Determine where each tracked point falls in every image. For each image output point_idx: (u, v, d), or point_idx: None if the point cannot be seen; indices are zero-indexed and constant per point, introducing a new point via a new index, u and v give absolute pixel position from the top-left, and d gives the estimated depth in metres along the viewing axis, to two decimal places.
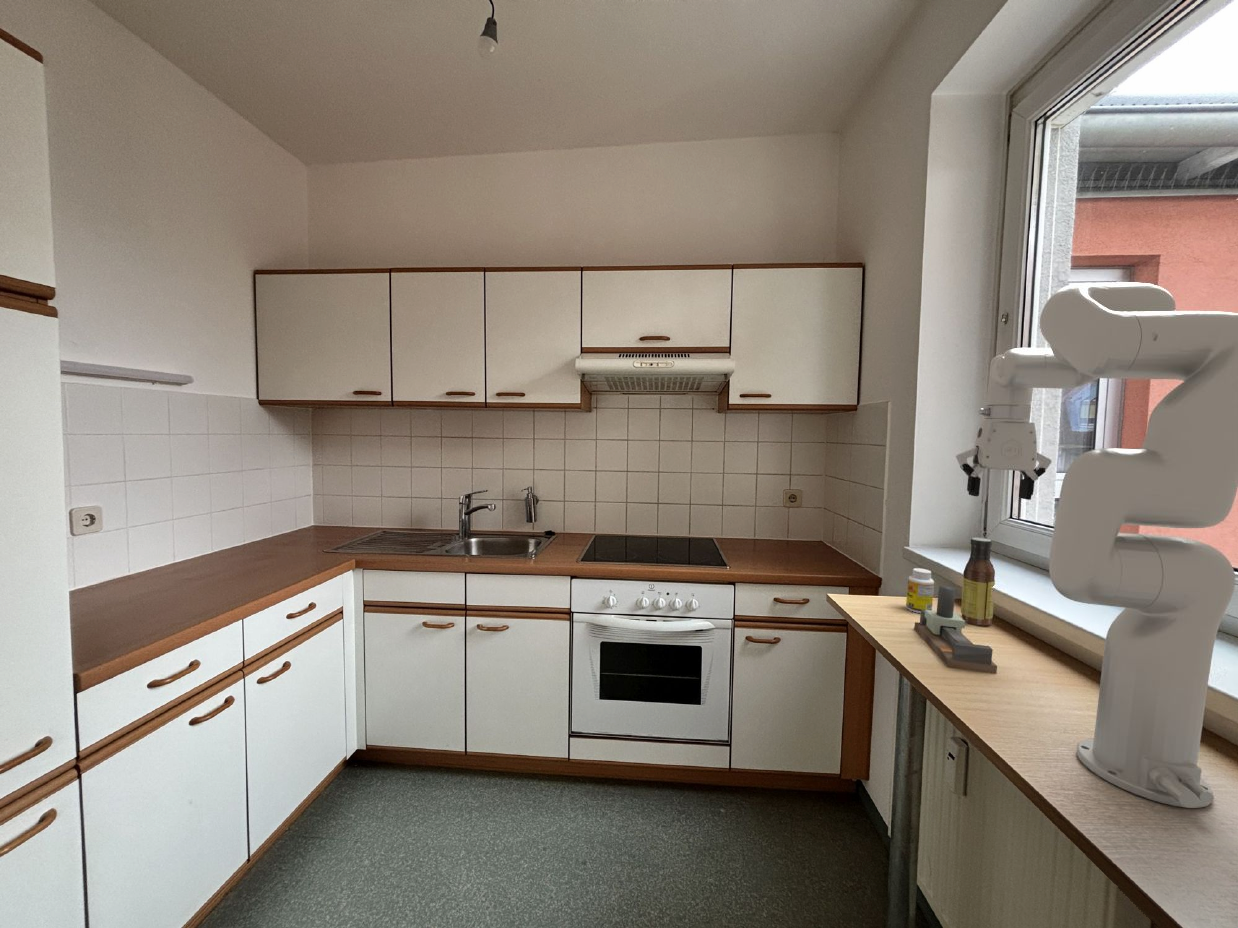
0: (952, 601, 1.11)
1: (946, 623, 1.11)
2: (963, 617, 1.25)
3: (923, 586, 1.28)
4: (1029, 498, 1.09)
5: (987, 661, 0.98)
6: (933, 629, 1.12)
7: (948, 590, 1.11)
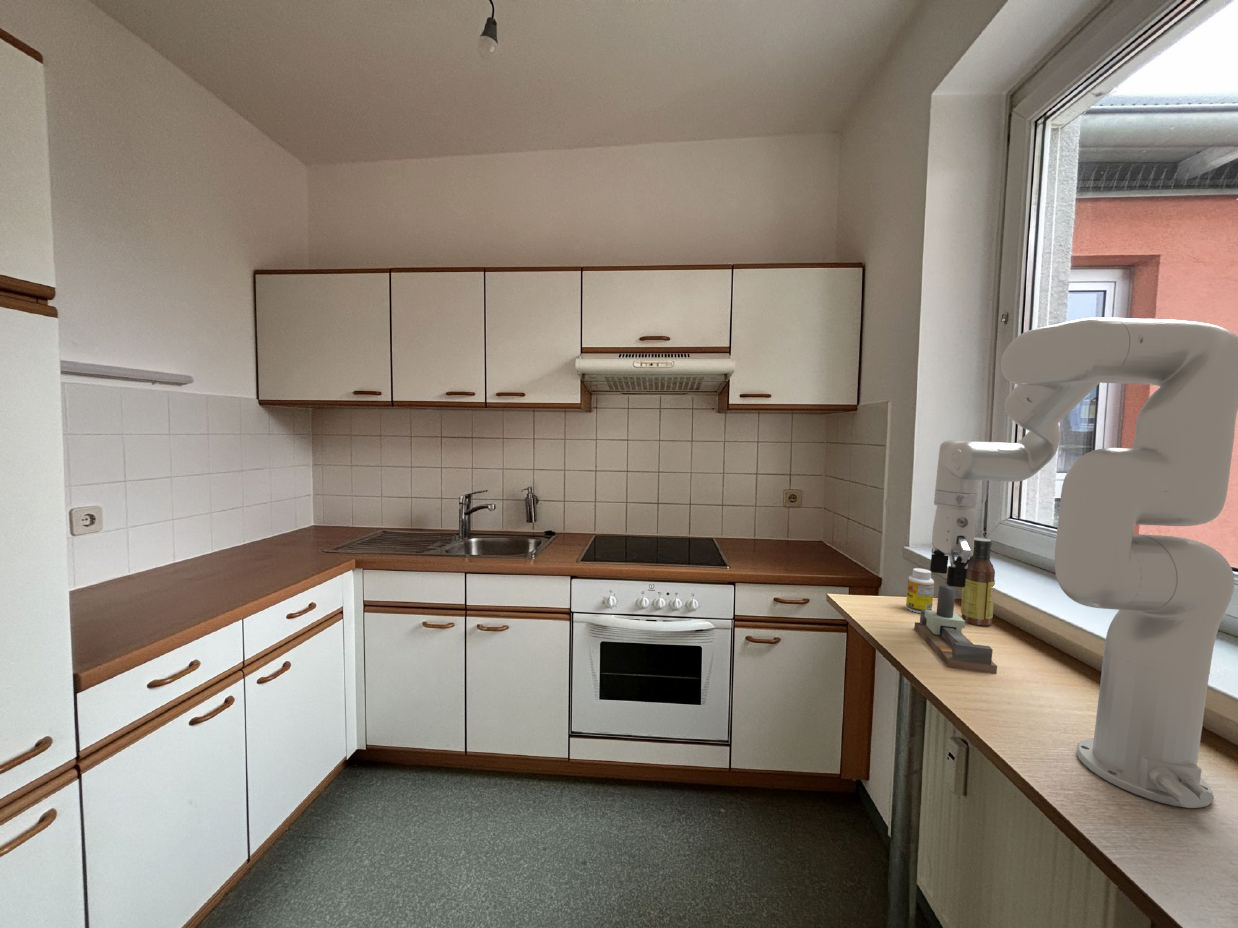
0: (952, 601, 1.11)
1: (946, 623, 1.11)
2: (963, 617, 1.25)
3: (923, 586, 1.28)
4: None
5: (987, 661, 0.98)
6: (933, 629, 1.12)
7: (948, 590, 1.11)
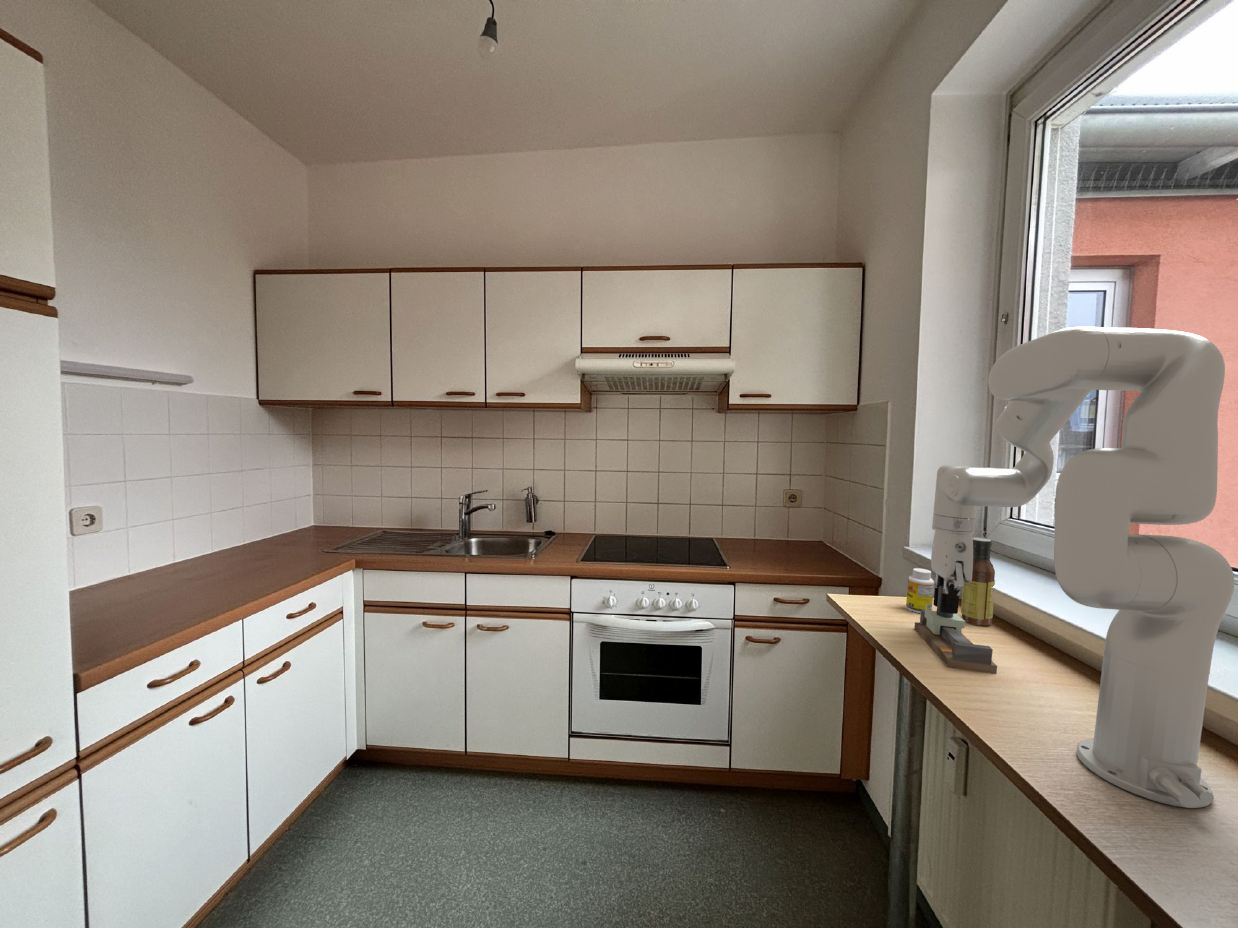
0: None
1: (946, 623, 1.11)
2: (963, 617, 1.25)
3: (923, 586, 1.28)
4: None
5: (987, 661, 0.98)
6: (933, 629, 1.12)
7: None
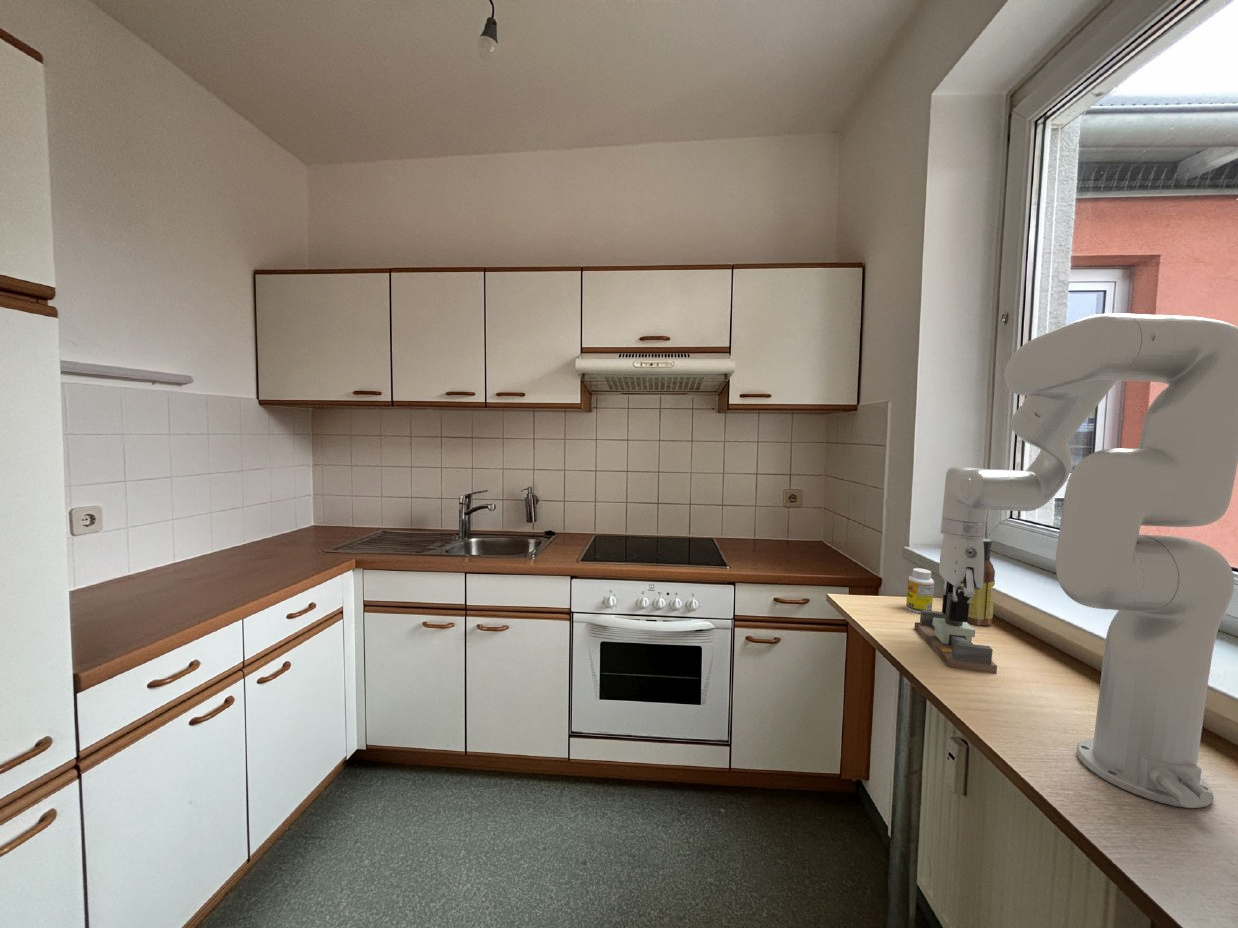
0: None
1: (955, 632, 1.06)
2: None
3: (923, 586, 1.28)
4: None
5: (987, 661, 0.98)
6: (942, 638, 1.07)
7: None
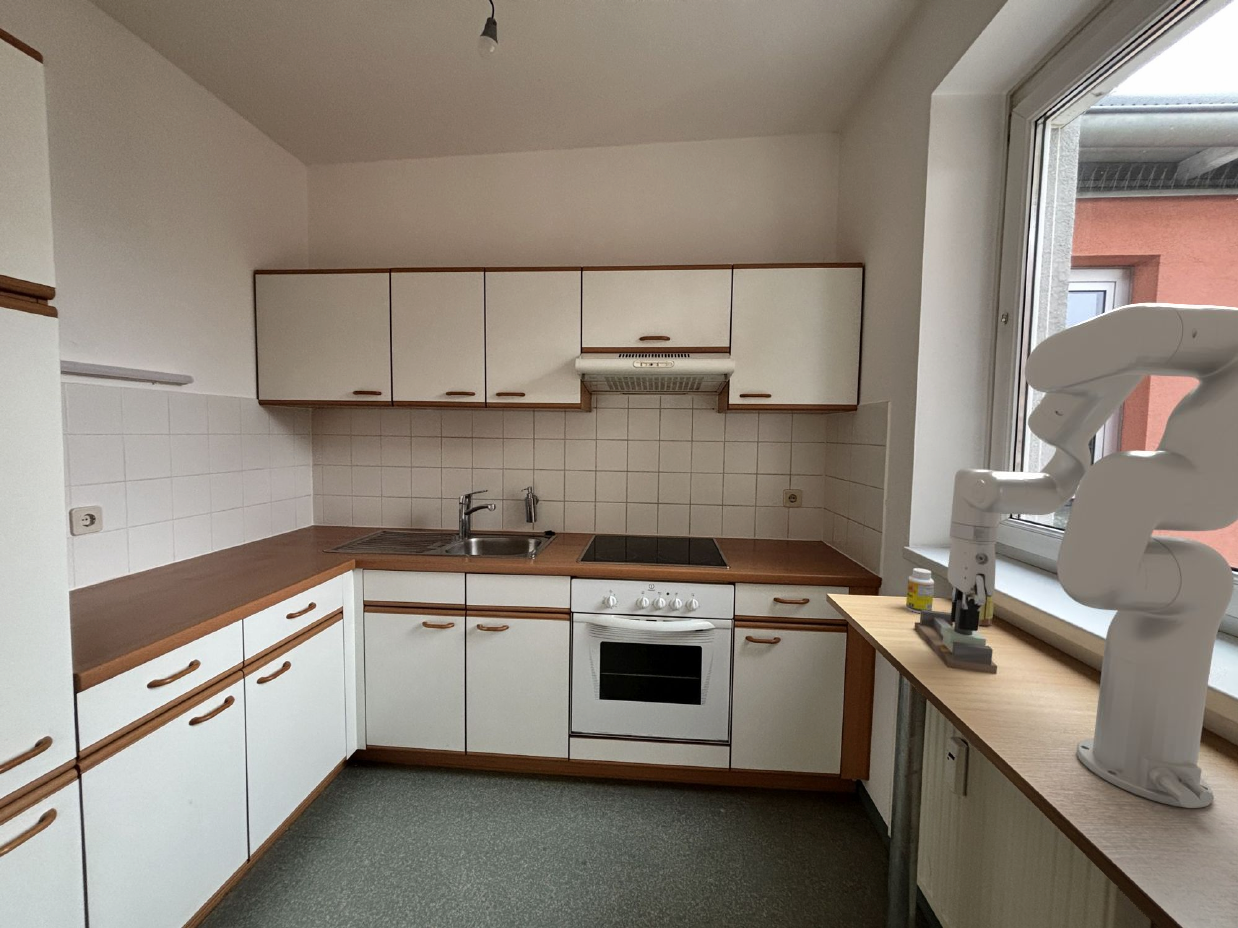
0: None
1: (965, 641, 1.01)
2: None
3: (923, 586, 1.28)
4: None
5: (987, 661, 0.98)
6: (951, 647, 1.03)
7: None
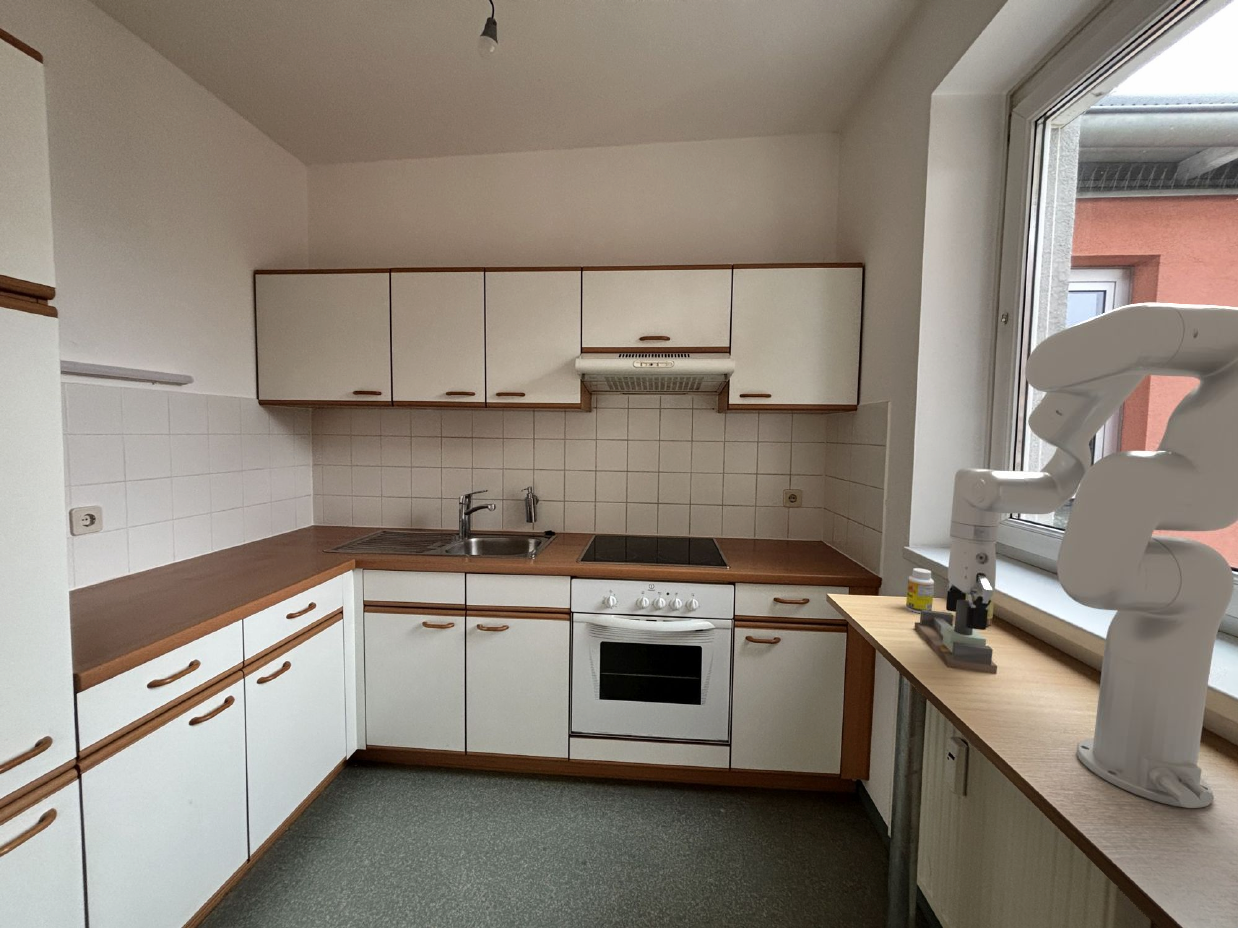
0: None
1: (965, 641, 1.01)
2: None
3: (923, 586, 1.28)
4: None
5: (987, 661, 0.98)
6: (951, 647, 1.03)
7: (967, 605, 1.02)
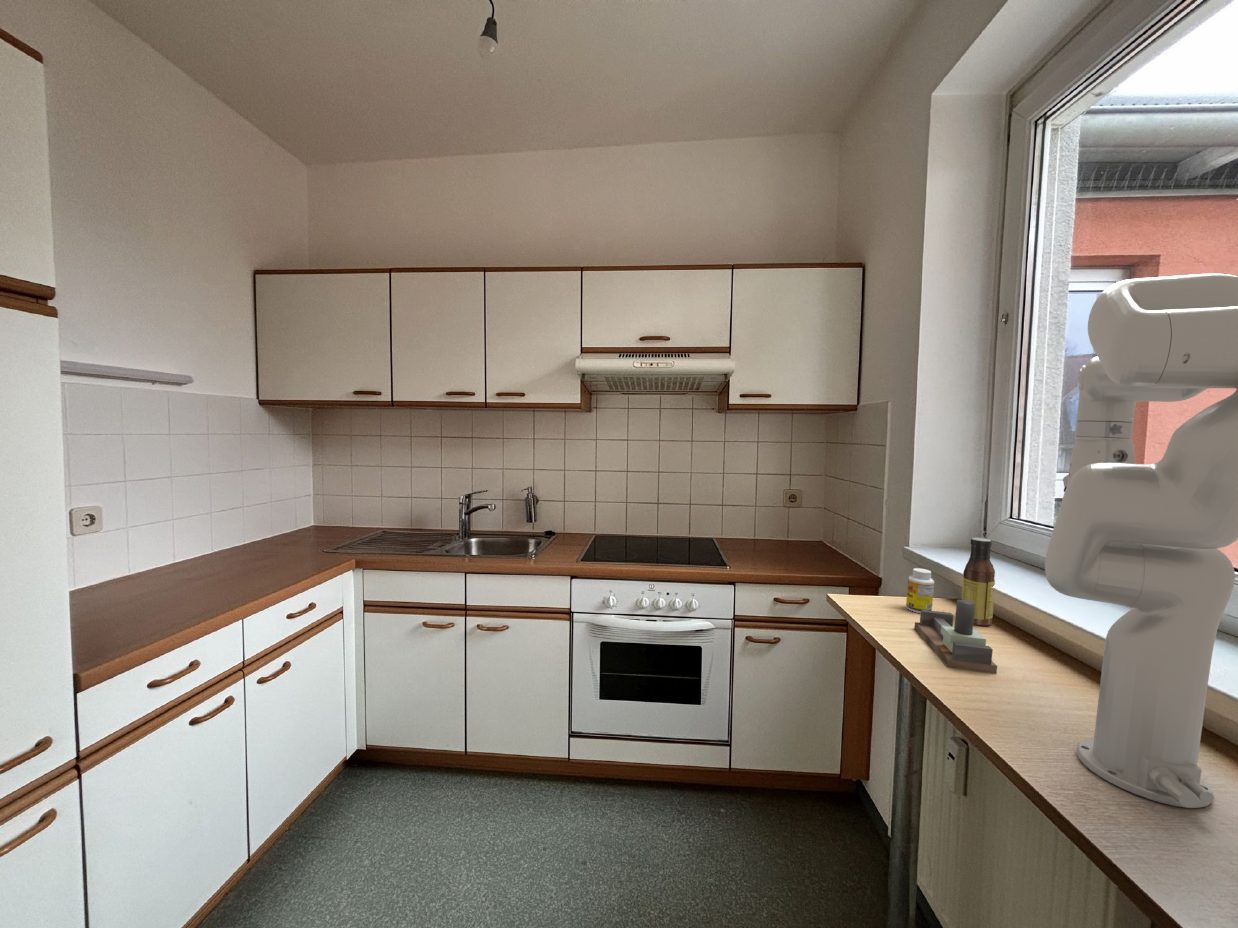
0: (972, 617, 1.02)
1: (965, 641, 1.01)
2: None
3: (923, 586, 1.28)
4: None
5: (987, 661, 0.98)
6: (951, 647, 1.03)
7: (967, 605, 1.02)
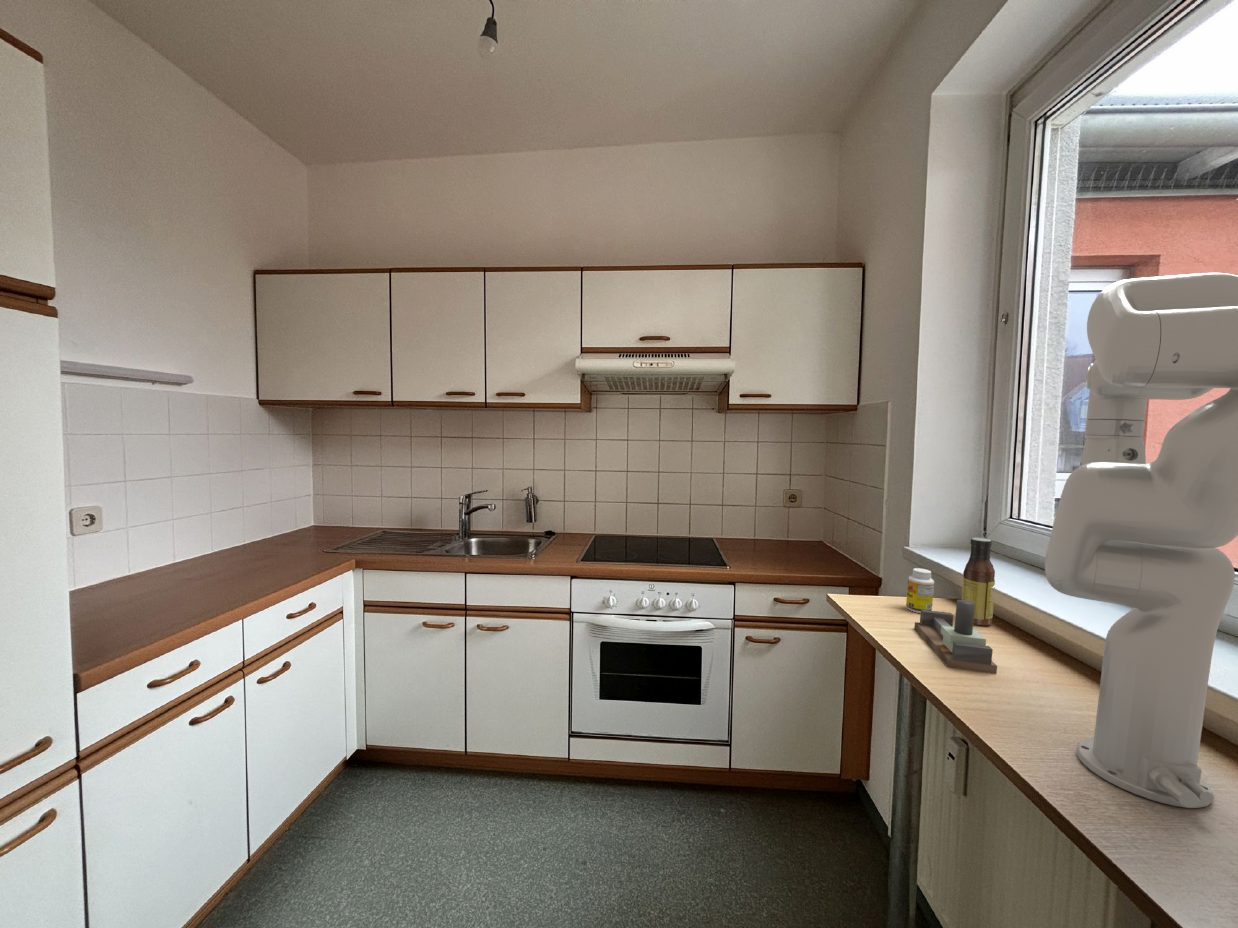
0: (972, 617, 1.02)
1: (965, 641, 1.01)
2: None
3: (923, 586, 1.28)
4: None
5: (987, 661, 0.98)
6: (951, 647, 1.03)
7: (967, 605, 1.02)
